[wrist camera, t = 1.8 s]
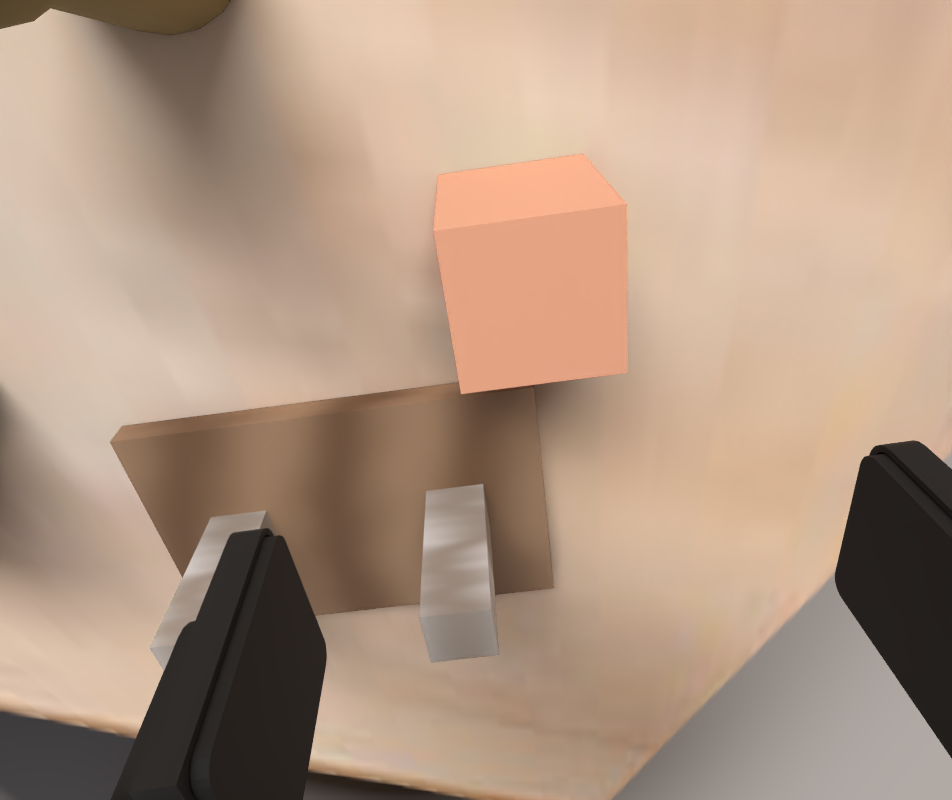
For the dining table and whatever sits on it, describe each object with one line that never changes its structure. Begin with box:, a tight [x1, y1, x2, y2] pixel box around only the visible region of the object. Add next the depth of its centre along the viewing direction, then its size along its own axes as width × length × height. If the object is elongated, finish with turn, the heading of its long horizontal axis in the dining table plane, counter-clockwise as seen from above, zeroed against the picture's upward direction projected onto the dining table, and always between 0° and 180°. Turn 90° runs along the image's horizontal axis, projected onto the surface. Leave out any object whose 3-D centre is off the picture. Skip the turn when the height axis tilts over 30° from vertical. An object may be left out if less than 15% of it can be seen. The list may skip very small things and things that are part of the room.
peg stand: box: [110, 383, 554, 670], centre depth 27 cm, size 18×12×8 cm, turn 97°
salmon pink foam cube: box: [433, 154, 628, 394], centre depth 21 cm, size 5×5×7 cm
